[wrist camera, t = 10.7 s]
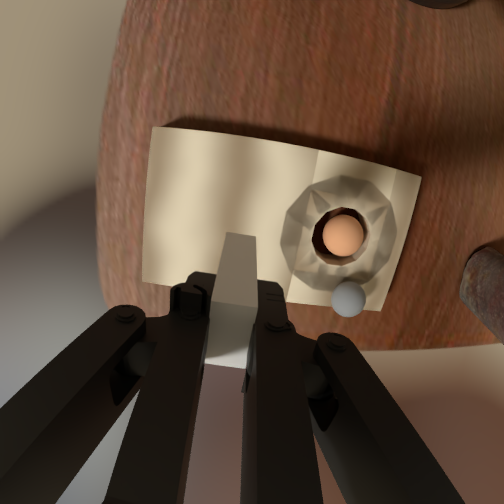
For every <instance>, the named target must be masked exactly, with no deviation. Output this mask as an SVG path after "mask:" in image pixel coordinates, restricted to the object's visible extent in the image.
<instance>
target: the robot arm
mask: <svg viewBox="0 0 504 504" xmlns="http://www.w3.org/2000/svg"><path fill="white" fill-rule="evenodd" d="M410 1H412V2H415V3H417V4H420V5H423V6H426V7H431V8H437V9H447V8H452V7H455V6H457V5H459V4H462V3H464V2H466V1H468V0H410ZM204 363H208V364H215V365H222V366H229V367H237V368H245V367H246V363H247V368H246V373H245V378H244V382H243V387H242V391H241V392H243V393H244V400H243V431H242V461H241V493H240V494H241V495H240V504H323V497H322V490H321V483H320V476H319V469H318V462H317V455H316V449H315V443H314V436H313V433H314V435H315V438H316V440H317V442H318V444H319V446H320V448H321V450H322V453H323V455H324V457H325V459H326V461H327V463H328V465H329V468H330V470H331V472H332V474H333V476H334V478H335V480H336V482H337V485H338V487H339V489H340V491H341V493H342V495H343V497H344V499H345V501H346V503H347V504H465V502H464V501H463V499H462V498H461V496H460V495H459V493H458V492H457V490H456V489H455V487H454V486H453V484H452V483H451V481H450V480H449V478H448V477H447V475H446V474H445V472H444V471H443V469H442V468H441V466H440V465H439V464H438V462H437V460H436V459H435V457H434V456H433V455H432V453H431V452H430V450H429V449H428V448H427V446H426V445H425V443H424V441H423V440H422V439H421V437H420V436H419V434H418V433H417V431H416V430H415V429H414V427H413V426H412V424H411V423H410V421H409V420H408V419H407V417H406V416H405V414H404V413H403V411H402V410H401V409H400V407H399V406H398V404H397V403H396V402H395V400H394V399H393V398H392V396H391V395H390V393H389V392H388V390H387V389H386V388H385V386H384V385H383V383H382V382H381V381H380V379H379V378H378V376H377V375H376V374H375V372H374V371H373V370H372V368H371V367H370V365H369V364H368V363H367V361H366V360H365V359H364V357H363V356H362V354H361V353H360V352H359V350H358V349H357V348H356V346H355V345H354V343H353V342H352V341H351V340H350V339H349V338H347V337H345V336H343V335H341V334H338V333H330V332H328V333H323V334H321V335H320V336H319V337H318V339H317V341H316V340H313V339H310V338H306V337H304V336H301V335H300V334H298V333H296V330H295V327H294V325H293V323H292V322H290V321H289V320H288V315H287V309H286V303H285V298H284V292H283V288H282V287H281V286H280V285H279V284H278V282H273V281H266V280H259V279H257V252H256V236H251V235H244V234H238V233H231V232H226V237H225V241H224V245H223V249H222V254H221V258H220V262H219V267H218V271H217V274H212V273H205V272H199V271H194V272H193V273H191V274H190V275H189V276H188V278H187V280H186V282H185V283H179V284H177V285H174V286H173V287H172V288H171V290H170V311H169V314H168V315H165V316H162V317H145V313H144V311H143V310H142V309H140V308H138V307H137V306H133V305H119V306H115V307H113V308H111V309H110V310H108V311H107V312H106V313H105V314H104V315H103V316H101V317H100V318H99V319H98V320H97V321H96V322H94V323H93V324H92V325H91V326H90V327H89V328H87V329H86V330H85V331H84V332H83V333H82V334H81V335H80V336H78V337H77V338H76V339H75V340H74V341H73V342H72V343H70V344H69V345H68V346H67V347H66V348H65V349H64V350H63V351H61V352H60V353H59V354H58V355H57V356H56V357H55V358H54V359H53V360H52V361H51V362H49V363H48V364H47V365H46V366H45V367H44V368H43V369H42V370H40V371H39V372H38V373H37V374H36V375H35V376H34V377H33V378H32V379H31V380H30V381H29V382H28V383H26V385H24V387H22V388H21V389H20V390H19V391H18V392H17V393H16V394H15V395H14V396H13V397H12V398H11V399H10V400H9V401H8V402H7V403H6V404H4V405H3V406H2V407H1V408H0V504H55V503H56V502H57V500H58V499H59V498H60V496H61V495H62V494H63V492H64V491H65V490H66V488H67V487H68V485H69V484H70V483H71V481H72V480H73V479H74V477H75V476H76V474H77V473H78V472H79V470H80V469H81V468H82V466H83V465H84V464H85V462H86V461H87V460H88V458H89V457H90V455H91V454H92V453H93V451H94V450H95V448H96V447H97V446H98V444H99V443H100V442H101V441H102V439H103V438H104V436H105V435H106V434H107V432H108V431H109V430H110V428H111V427H112V426H113V424H114V423H115V422H116V420H117V419H118V418H119V416H120V415H121V413H122V412H123V411H124V409H125V408H126V407H127V405H128V404H129V403H130V401H131V400H132V399H133V397H134V396H135V395H136V393H137V392H138V391H139V389H140V391H139V394H138V397H137V400H136V402H135V405H134V408H133V411H132V414H131V417H130V420H129V423H128V426H127V429H126V432H125V435H124V438H123V441H122V445H121V447H120V451H119V453H118V457H117V460H116V463H115V466H114V470H113V473H112V476H111V480H110V483H109V486H108V489H107V493H106V496H105V499H104V501H103V502H102V504H183V503H184V495H185V488H186V481H187V474H188V467H189V461H190V454H191V447H192V441H193V435H194V427H195V422H196V415H197V409H198V403H199V397H200V391H201V385H202V379H203V373H204Z"/></svg>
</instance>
